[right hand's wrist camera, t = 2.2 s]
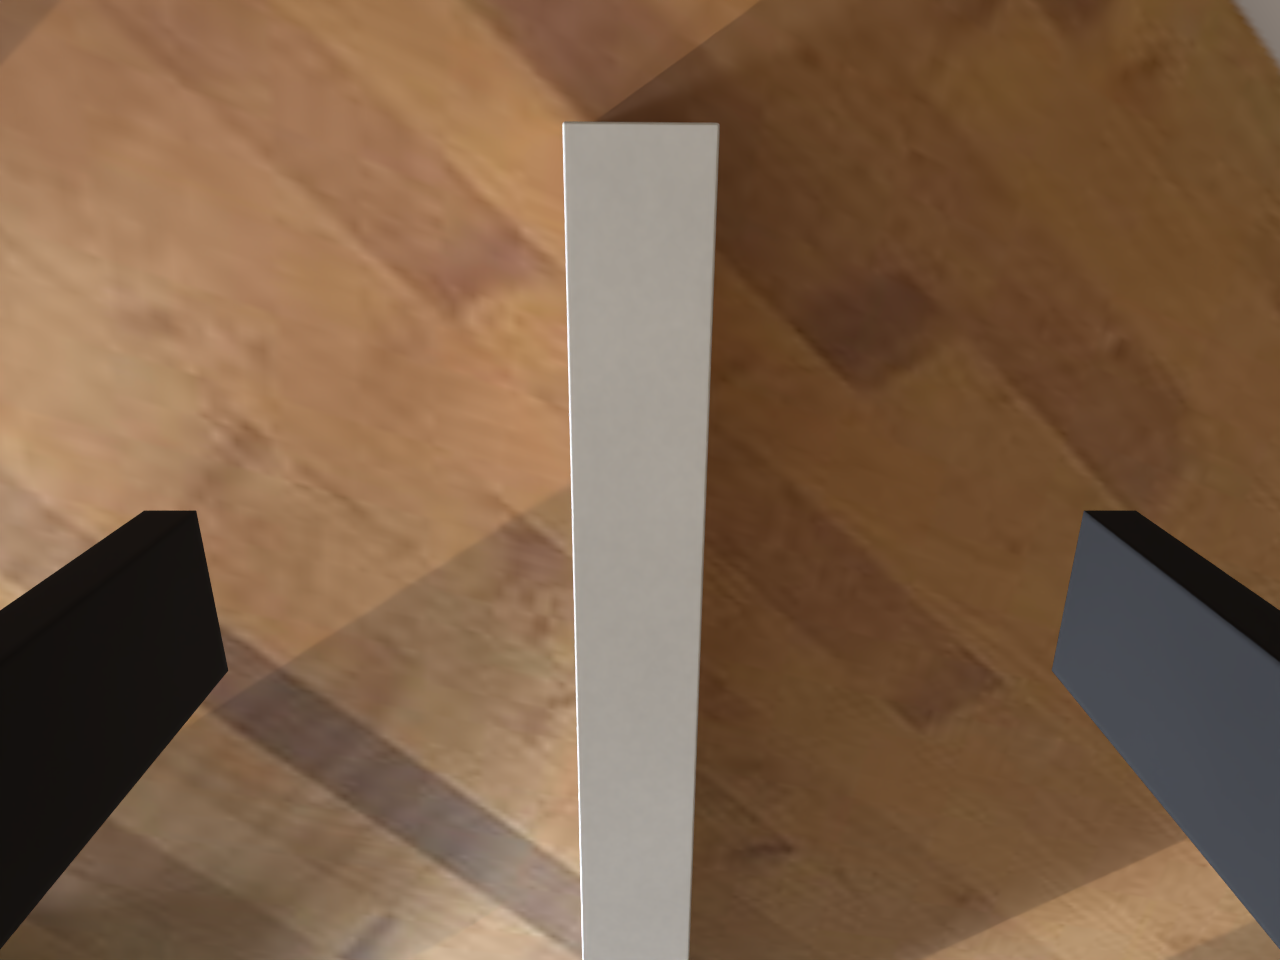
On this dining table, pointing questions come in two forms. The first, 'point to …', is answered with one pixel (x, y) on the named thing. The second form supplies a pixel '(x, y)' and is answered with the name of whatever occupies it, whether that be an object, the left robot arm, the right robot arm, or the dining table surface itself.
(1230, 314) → the dining table surface
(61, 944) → the dining table surface
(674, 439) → the post
